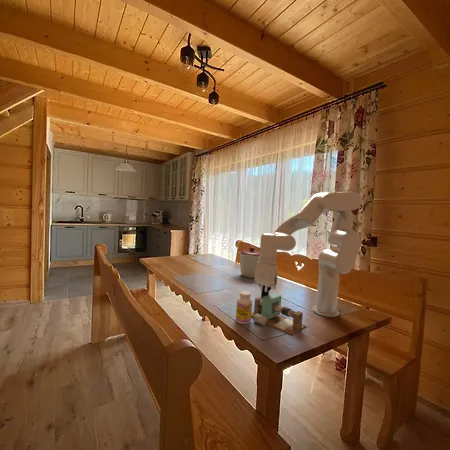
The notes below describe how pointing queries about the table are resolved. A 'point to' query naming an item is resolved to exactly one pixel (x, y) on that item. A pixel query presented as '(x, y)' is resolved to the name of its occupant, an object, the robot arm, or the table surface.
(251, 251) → the canister
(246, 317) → the supplement bottle
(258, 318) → the sleeve
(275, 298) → the collar
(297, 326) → the pipe rig
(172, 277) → the table surface
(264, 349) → the table surface
